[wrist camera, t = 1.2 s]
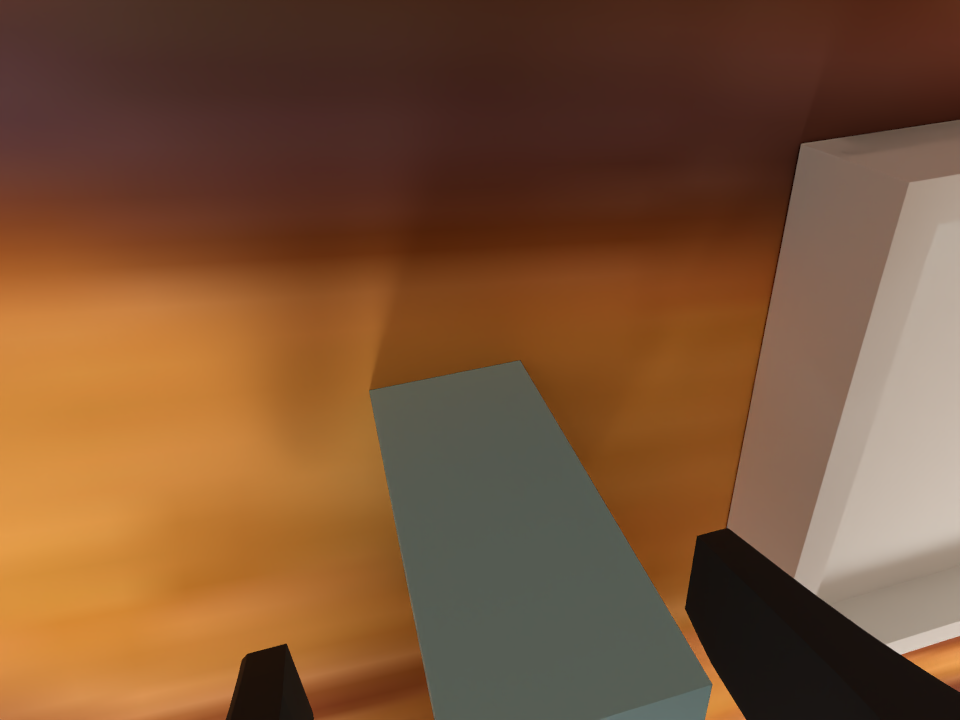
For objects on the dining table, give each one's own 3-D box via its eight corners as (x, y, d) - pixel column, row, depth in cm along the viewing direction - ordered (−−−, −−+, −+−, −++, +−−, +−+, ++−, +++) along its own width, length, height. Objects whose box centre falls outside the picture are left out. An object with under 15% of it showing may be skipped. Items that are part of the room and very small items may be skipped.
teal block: (528, 563, 16) (665, 900, 10) (409, 593, 16) (483, 966, 10) (519, 360, 13) (712, 684, 7) (368, 390, 12) (445, 767, 7)
